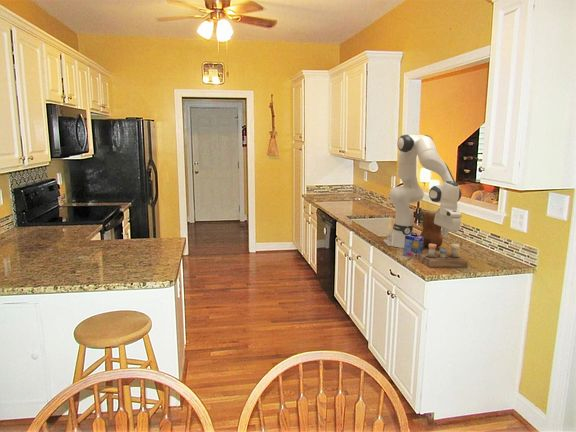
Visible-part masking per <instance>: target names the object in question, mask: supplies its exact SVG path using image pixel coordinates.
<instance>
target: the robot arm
mask: <svg viewBox="0 0 576 432" xmlns="http://www.w3.org/2000/svg"><path fill="white" fill-rule="evenodd" d="M397 148H398V150H399V153H398V154H399V155H398V164H397V165H398V166H397V167H398V172H397V176H398V178H399V179H400V180H401V182H402V184H403V185H399V186H394V187H392V188H391V189H390V190H389V193H388V198H389V200H390V202H392V204H393V207H394V210H395V219H394V223H393V225H392V226H393V227H392V229H391V230H390V231H389V232H388V233H387V234H386V239H385V238H384V239H383V242H384V244H385V245H386V246H388V247H395V248H399V249H404V244H405V235H408V234H410V235H411V232H413V229H414V225H413V223H414V212H413V210H411V208H410V204H415V203H418V202H421V201H422V200H423V199H424V196H425V193H424V190H423V188H422V187H421V186H420V185H419V182H418V177H417V157H418V161H419V163H420V165H421V167H422V168H424V169H426V170H428V171H431V172H433V173H436V174H437V175H439V177H440V178H441V180H442V182H443V183H441V184H438V185H433V186H431V188H430V189H429V192H428V196H429V197H428V198H429V199H430V201H431V202H433V203H440V204H439V205H440V206H439V208H438V209H437V210H436V211H437V212H436V214H435V218H434V224H436V225H439V226H441V234H442V237H443V236H444V237H448V234H449V233H450V231H451V232H459V231H460V228H461V223H462V222H461V221H462V220H461V218H462V215H463V214H462V212H460V211H459V209H458V202H459V201H460V200H461V197H462V190H461V188H460V184H459V183H457V182H456V181H455V179H454V176H453V175H452V171H451V170H450V169H449V167H448V165H447V164H446V162H445V161H444V160H443V159H442V158H441V156H440V155H439V152H438V150H437V147H436V145H435V141H434V140H433V137H432V136H430V135H426V134H419V133H418V134H417V133H416V134H403V135H400V137H398V139H397Z"/></svg>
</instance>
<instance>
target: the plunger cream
mask: <svg viewBox="0 0 576 432" xmlns="http://www.w3.org/2000/svg"><path fill="white" fill-rule="evenodd" d="M450 247H451V253H450V254H451V257H457V256H458V253H459V249H460V244H458V243H451V246H450Z"/></svg>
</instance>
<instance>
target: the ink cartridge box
mask: <svg viewBox="0 0 576 432" xmlns="http://www.w3.org/2000/svg"><path fill="white" fill-rule="evenodd" d="M423 244H424V237H421V236H420V235H418V232H413V231H412V232H411V235H410V234H408V235H405V244H404V248H403V256H406V257H411V258H415V259H418V254H424V246H423Z"/></svg>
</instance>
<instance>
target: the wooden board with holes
mask: <svg viewBox="0 0 576 432" xmlns="http://www.w3.org/2000/svg"><path fill="white" fill-rule="evenodd" d="M428 254H429V253H423V254H418V258H417V262H420V263H422V264H423V265H424V266H427V267H428V268H430V269H438V268H439V269H441V268H442V269H446V268H448V269H449V268H451V269H453V268H455V267H467V268H468V263H469V260H468V259H465V258H463V257H461V256H459V255H457V257H451V253H446V258H440V253H435V256H434V257H428Z"/></svg>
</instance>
